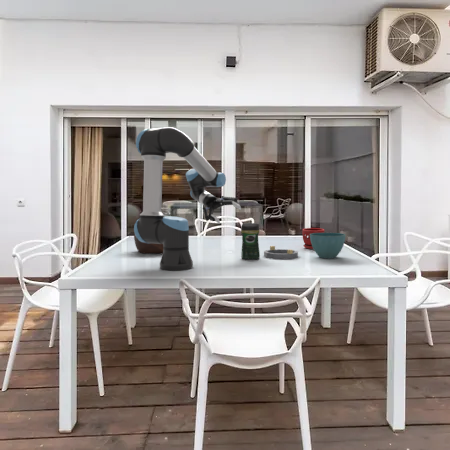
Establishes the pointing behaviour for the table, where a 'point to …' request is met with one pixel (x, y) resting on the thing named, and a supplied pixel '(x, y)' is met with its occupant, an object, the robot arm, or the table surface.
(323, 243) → the plant pot
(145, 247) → the wooden bowl
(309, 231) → the plant pot
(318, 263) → the table surface
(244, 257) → the coffee jar
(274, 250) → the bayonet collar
